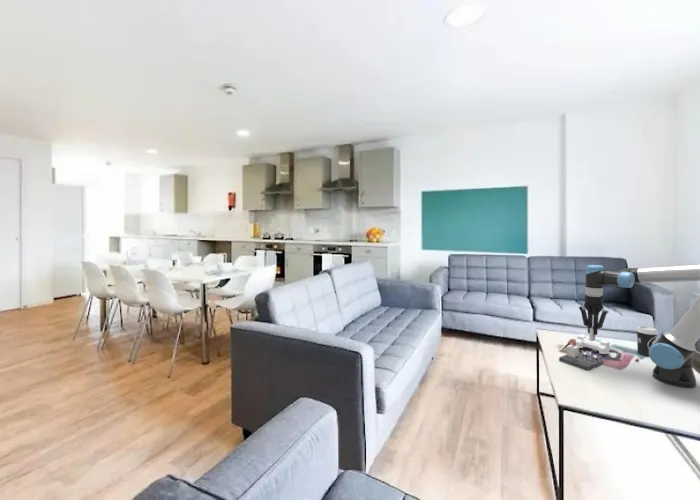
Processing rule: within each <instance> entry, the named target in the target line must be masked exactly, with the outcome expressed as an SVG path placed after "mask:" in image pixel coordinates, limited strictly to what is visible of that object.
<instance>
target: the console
mask: <svg viewBox="0 0 700 500" xmlns="http://www.w3.org/2000/svg"><path fill="white" fill-rule="evenodd" d="M558 362H561V363H564V364H567V365H569V366H572V367H575V368H578V369H581V370H584V371H587V372H588V371H590V370H591V371H592V370H593V369H594V368H597V367H600V366H602V365H603V364H604V359H601V358H599V356H598V355H596V354H592V355H589V352H587V351H582V352H579V354H578V356H577V357H575V358H574V357H571V356H568V355H567V354H565V355H561V356H559V357H558ZM601 364H602V365H601Z"/></svg>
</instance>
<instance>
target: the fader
mask: <svg viewBox="0 0 700 500" xmlns="http://www.w3.org/2000/svg"><path fill="white" fill-rule="evenodd" d="M579 353H580V348H579V347H577V346H576V344H574V345H573V344H570V345H567V346H566V355H568V356H571V357H574V358H575V357H577V356H578V354H579Z"/></svg>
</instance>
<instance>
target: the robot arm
mask: <svg viewBox="0 0 700 500" xmlns="http://www.w3.org/2000/svg"><path fill="white" fill-rule="evenodd" d="M675 282H677V283H678V282H679V283H680V282H683V283H684V282H700V263H695V264H694V263H693V264H679V265H678V264H677V265H665V266H663V265H662V266H646V267H627V268H626V267H625V268H622V269H619V270H608V269H605V267H604V265H600V264H587V266H586V267H585V283H584V285H585V286H584V287H585V288H584V294H585V295H584V304H583V305H580V306H579V307H578V309H579V310H580V313H581V319H582V322H583V326H586V327H587V333H588V334H589V338H588V339H589V340H590V341H596V336H597V335H598V329H601V328H603V325H604V323H605V320H606V317H607V314H609V310H606V309H605V308H604V306H603V302H604V299H603V297H604V296H603V295H604V286H608V287H609V286H611V287H617V288H618V287H619V288H629V289H631V288H632V287H634V285H635V284H643V283H644V284H646V283H648V284H649V283H651V284H652V283H675ZM600 313H601V314H600ZM599 317H600V318H599ZM659 335H660V337H659V338H658V339H656V342H655V344H653V345H652V346H651V347H650V349H649V356H648V357H649V359H650V360H651V361H652V362H653V363H654V364H655V366H654V368H653V369H652V377H653V378H654V379H655V380H657V381H659V382H662V383H664V384H667V385H670V386H674V387H679V388H686V389H689V388H694V387H696V386H697V378H696V375H695V372H694V370H693V363H694V362H693V361H694V356H695V355H694V354H695V351H696V350H697V349H696V346H695V345H696V343H697V342H698V340H699V339H700V295H699V296H698V297H697V299H696V300H695V301H694V302H693V304H692V305H691V306H690V307H689V308H688V310H687V311H686V312H685V313H684V314H683V316H682V317H681V318H680V320H678V322H677V323H676V324H675V325H674V327H673V328H672V329H671V330H662V331H661V332H660V334H659Z"/></svg>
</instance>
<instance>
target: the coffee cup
mask: <svg viewBox="0 0 700 500" xmlns="http://www.w3.org/2000/svg"><path fill="white" fill-rule="evenodd" d="M635 330H636V341H637V342H636V343H637V344H636V345H637V347H636V348H637V354H638V355H641V356H645V357H650V356H649V349H650V347H651V346H652V345H653V344H655V343H656V341H657V337H658V335H659V332H658V330H657V329H656V328H655V327H651V326H647V325H646V326H645V325H638V326H637V327H636V329H635Z"/></svg>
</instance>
